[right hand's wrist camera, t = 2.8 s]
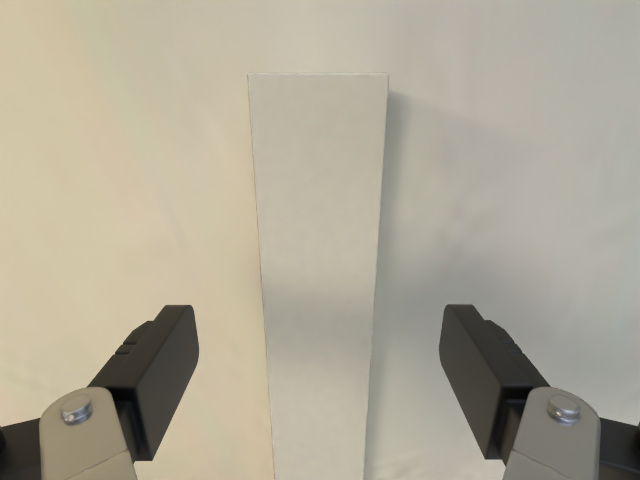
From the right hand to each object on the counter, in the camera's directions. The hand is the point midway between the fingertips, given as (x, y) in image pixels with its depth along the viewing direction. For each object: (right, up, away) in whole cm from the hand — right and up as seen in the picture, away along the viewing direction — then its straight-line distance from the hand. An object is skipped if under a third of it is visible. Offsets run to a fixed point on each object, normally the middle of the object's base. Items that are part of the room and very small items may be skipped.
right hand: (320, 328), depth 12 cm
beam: (0, -21, +19) cm, 28 cm away
